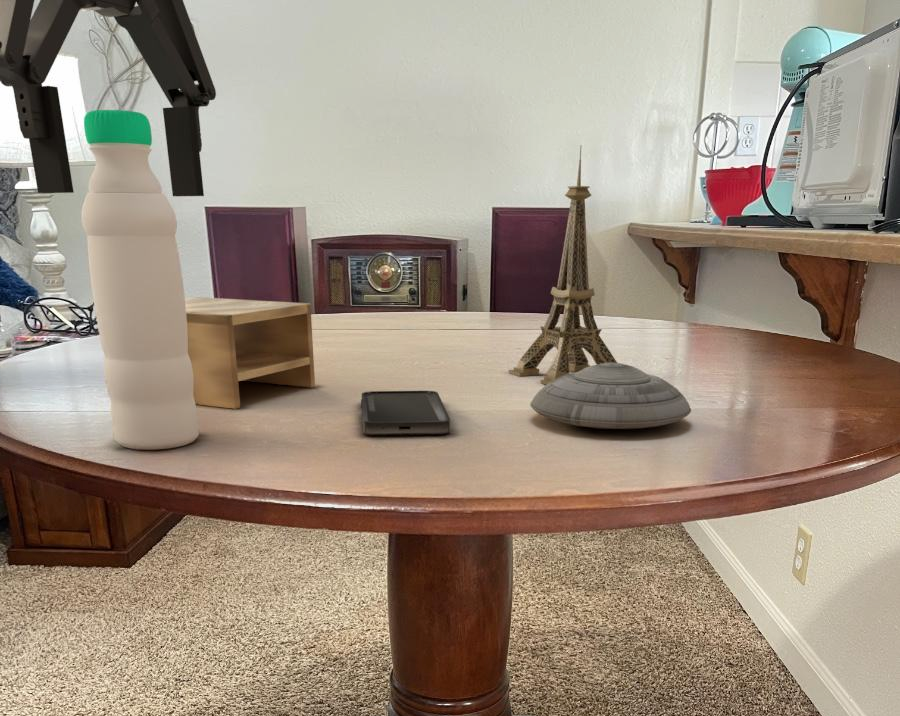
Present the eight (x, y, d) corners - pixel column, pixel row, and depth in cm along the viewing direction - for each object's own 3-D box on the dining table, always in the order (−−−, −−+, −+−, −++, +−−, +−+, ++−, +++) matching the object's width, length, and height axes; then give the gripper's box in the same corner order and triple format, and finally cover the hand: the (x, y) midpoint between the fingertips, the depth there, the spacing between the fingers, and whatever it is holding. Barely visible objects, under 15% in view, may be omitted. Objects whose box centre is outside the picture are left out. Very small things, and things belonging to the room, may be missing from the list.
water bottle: (102, 451, 73) (49, 106, 63) (130, 432, 80) (86, 115, 70) (188, 452, 73) (148, 106, 63) (209, 432, 80) (176, 116, 70)
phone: (436, 390, 92) (451, 421, 78) (436, 401, 93) (451, 433, 79) (360, 391, 91) (361, 422, 78) (360, 402, 92) (362, 435, 78)
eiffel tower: (508, 372, 110) (515, 146, 100) (581, 367, 114) (594, 149, 104) (552, 386, 101) (565, 140, 91) (629, 380, 105) (649, 143, 95)
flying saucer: (499, 424, 83) (500, 364, 81) (578, 399, 94) (582, 346, 92) (645, 448, 75) (652, 382, 73) (714, 418, 86) (721, 360, 84)
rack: (117, 394, 96) (105, 307, 92) (205, 375, 107) (197, 296, 103) (235, 409, 89) (226, 315, 85) (315, 386, 101) (310, 303, 97)
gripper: (-50, -239, 48) (25, 190, 57) (243, -104, 69) (266, 196, 77) (-135, -212, 51) (-53, 191, 60) (169, -90, 72) (199, 197, 80)
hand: (127, 195), depth 69 cm, fingers open, 13 cm apart
